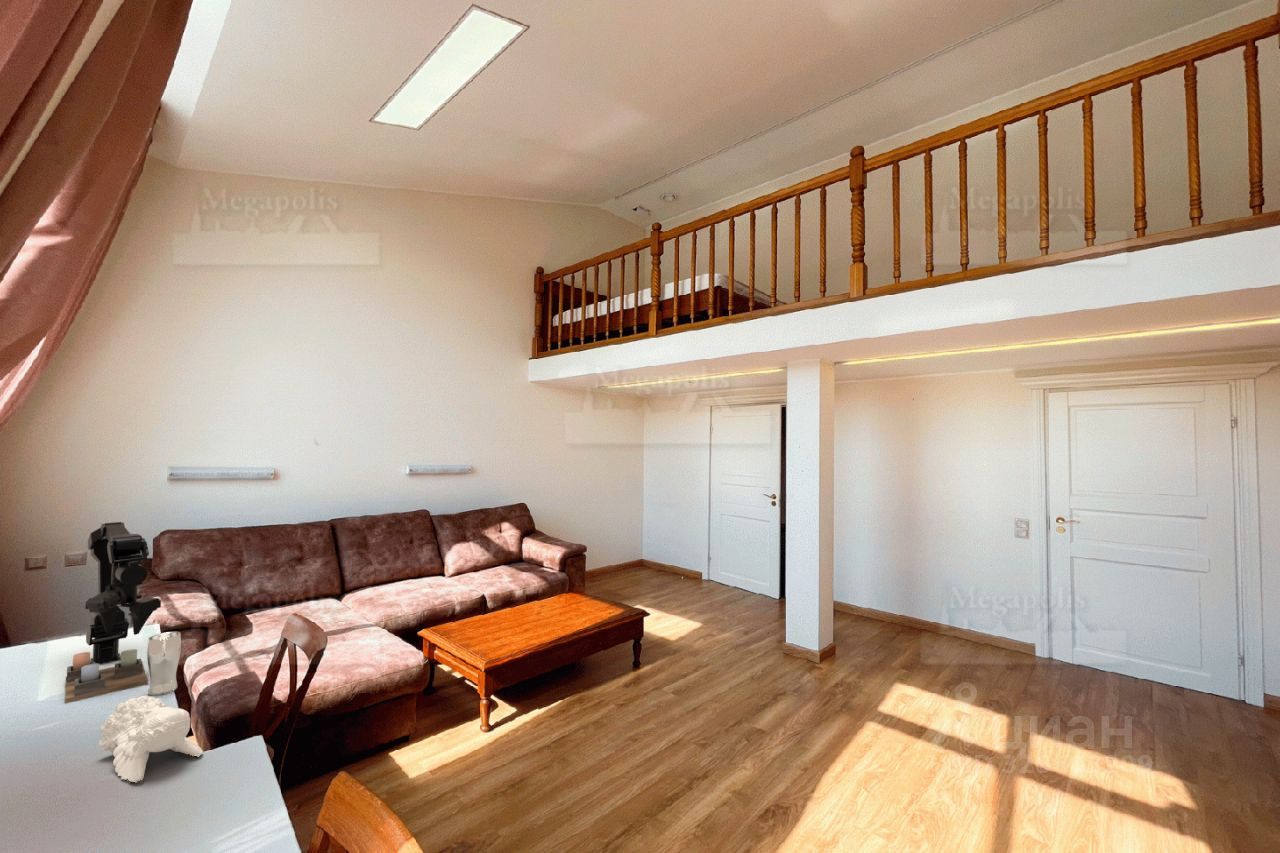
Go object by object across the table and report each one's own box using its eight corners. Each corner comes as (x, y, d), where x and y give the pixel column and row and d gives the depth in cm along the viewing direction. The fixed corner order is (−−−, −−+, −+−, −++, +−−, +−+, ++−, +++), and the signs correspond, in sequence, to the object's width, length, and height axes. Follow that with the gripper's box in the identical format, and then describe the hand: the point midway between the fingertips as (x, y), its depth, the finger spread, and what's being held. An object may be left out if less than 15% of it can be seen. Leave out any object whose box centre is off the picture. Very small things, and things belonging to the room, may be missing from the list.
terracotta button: (72, 670, 155) (73, 654, 155) (89, 666, 157) (90, 651, 157) (72, 673, 152) (73, 657, 152) (89, 670, 155) (90, 654, 155)
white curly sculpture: (174, 685, 129) (212, 697, 119) (173, 741, 128) (211, 757, 117) (99, 706, 118) (134, 721, 108) (96, 767, 116) (132, 788, 106)
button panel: (65, 681, 154) (66, 666, 155) (141, 664, 166) (142, 651, 166) (64, 703, 141) (65, 687, 142) (147, 684, 153) (148, 669, 153)
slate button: (80, 682, 147) (81, 665, 147) (98, 678, 149) (99, 662, 149) (80, 686, 144) (81, 669, 145) (98, 682, 147) (99, 665, 147)
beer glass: (163, 697, 145) (166, 640, 146) (138, 696, 145) (140, 639, 146) (186, 685, 152) (188, 631, 153) (161, 685, 152) (163, 631, 153)
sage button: (120, 667, 157) (120, 651, 157) (136, 663, 159) (136, 648, 160) (120, 670, 155) (121, 654, 155) (137, 667, 157) (137, 651, 157)
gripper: (64, 584, 151) (62, 640, 151) (123, 589, 149) (120, 646, 149) (108, 574, 162) (106, 627, 162) (163, 578, 160) (161, 631, 160)
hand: (122, 633), depth 158 cm, fingers open, 9 cm apart
